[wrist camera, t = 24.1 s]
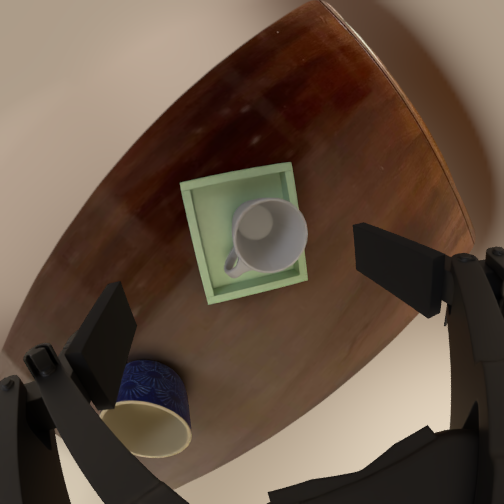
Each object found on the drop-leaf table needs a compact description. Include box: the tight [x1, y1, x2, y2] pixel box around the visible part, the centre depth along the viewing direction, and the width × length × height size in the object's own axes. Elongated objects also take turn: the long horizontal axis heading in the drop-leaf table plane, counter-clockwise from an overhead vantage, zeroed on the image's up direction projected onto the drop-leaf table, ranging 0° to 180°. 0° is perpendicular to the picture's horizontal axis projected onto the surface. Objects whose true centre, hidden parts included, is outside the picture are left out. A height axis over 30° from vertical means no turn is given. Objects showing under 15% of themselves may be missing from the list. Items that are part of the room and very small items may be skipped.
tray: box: [180, 162, 308, 305], centre depth 36 cm, size 15×13×3 cm
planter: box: [99, 360, 192, 458], centre depth 35 cm, size 12×12×11 cm
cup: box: [224, 198, 308, 278], centre depth 33 cm, size 8×10×8 cm
